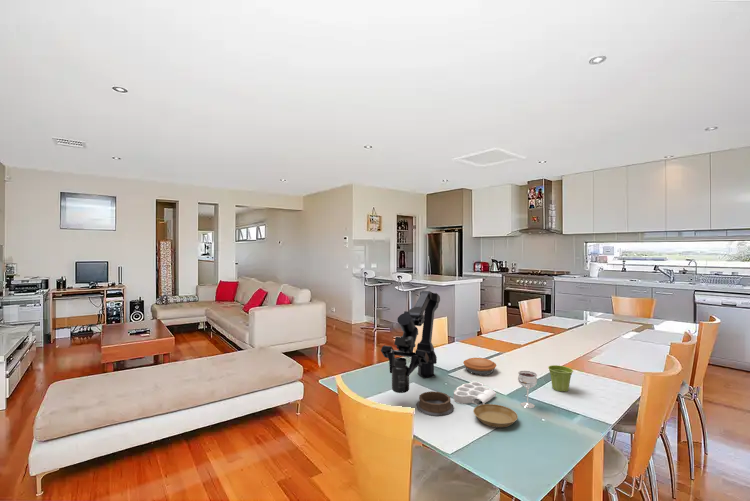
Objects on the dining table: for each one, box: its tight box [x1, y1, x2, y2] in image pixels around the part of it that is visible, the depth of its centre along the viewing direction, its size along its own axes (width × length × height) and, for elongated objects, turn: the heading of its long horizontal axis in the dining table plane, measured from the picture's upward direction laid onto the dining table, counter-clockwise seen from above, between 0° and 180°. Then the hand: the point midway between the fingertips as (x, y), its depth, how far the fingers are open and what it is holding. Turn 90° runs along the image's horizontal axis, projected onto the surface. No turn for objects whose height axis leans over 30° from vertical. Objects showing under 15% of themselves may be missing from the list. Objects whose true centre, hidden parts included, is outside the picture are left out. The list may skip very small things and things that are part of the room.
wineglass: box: [517, 370, 538, 409], centre depth 137 cm, size 7×7×12 cm
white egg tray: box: [453, 381, 497, 406], centre depth 145 cm, size 3×18×15 cm
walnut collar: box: [415, 390, 455, 417], centre depth 136 cm, size 14×14×4 cm
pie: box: [462, 357, 497, 376], centre depth 175 cm, size 16×16×5 cm
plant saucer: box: [472, 403, 519, 428], centre depth 126 cm, size 15×15×3 cm
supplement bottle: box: [391, 357, 410, 394], centre depth 140 cm, size 7×7×12 cm
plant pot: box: [547, 364, 574, 392], centre depth 152 cm, size 9×9×9 cm
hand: (399, 374), depth 138 cm, fingers closed on supplement bottle, 7 cm apart
